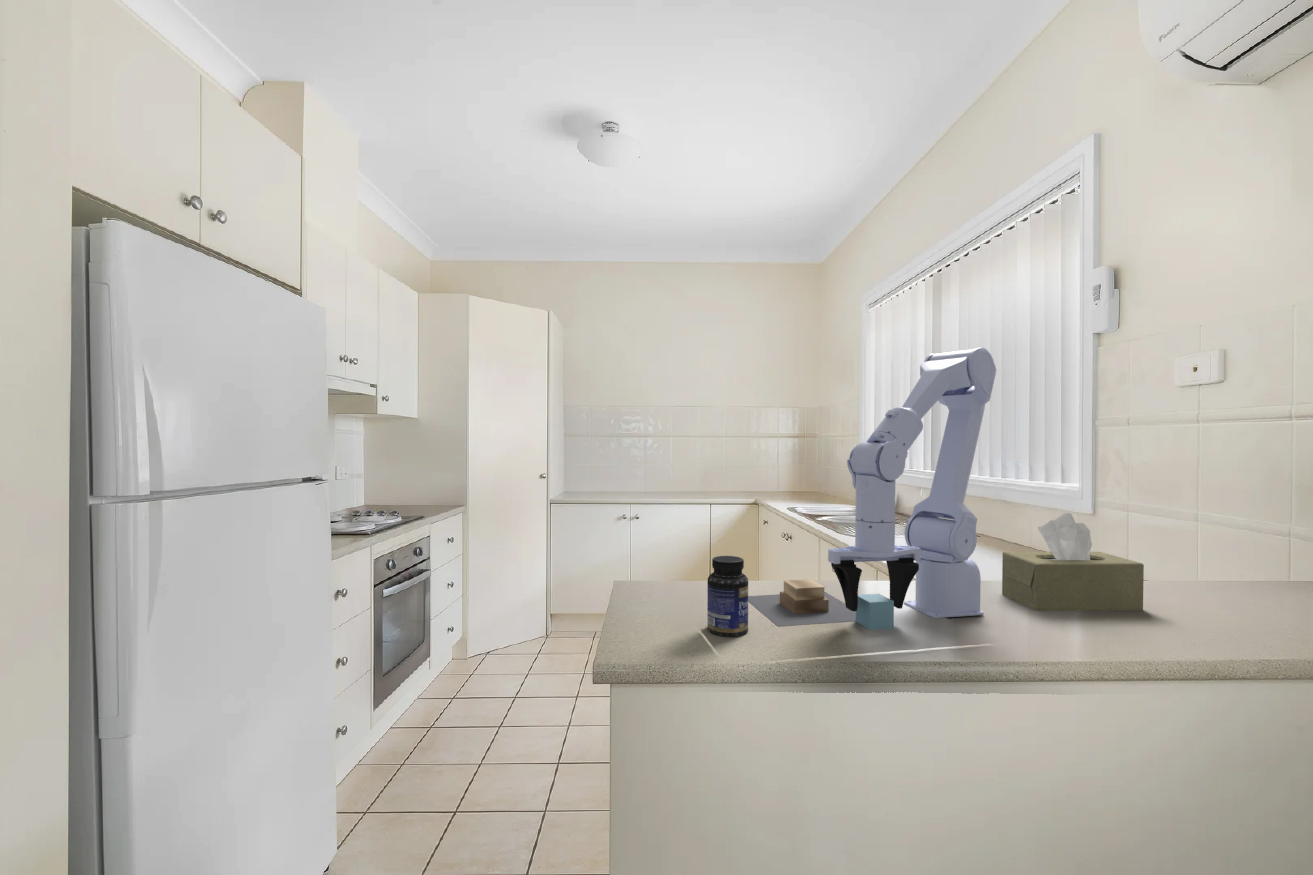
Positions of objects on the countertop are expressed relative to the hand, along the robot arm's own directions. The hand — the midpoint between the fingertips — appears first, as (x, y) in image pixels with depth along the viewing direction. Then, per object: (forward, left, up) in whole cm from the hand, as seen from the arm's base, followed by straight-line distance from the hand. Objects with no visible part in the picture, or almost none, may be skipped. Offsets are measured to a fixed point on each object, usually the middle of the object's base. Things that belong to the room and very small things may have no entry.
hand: (874, 608), depth 90 cm
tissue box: (-41, -5, -3) cm, 42 cm away
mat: (+7, -10, -3) cm, 12 cm away
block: (0, 0, -3) cm, 3 cm away
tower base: (+7, -10, -3) cm, 12 cm away
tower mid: (+7, -10, -1) cm, 12 cm away
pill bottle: (+23, -2, -3) cm, 23 cm away
